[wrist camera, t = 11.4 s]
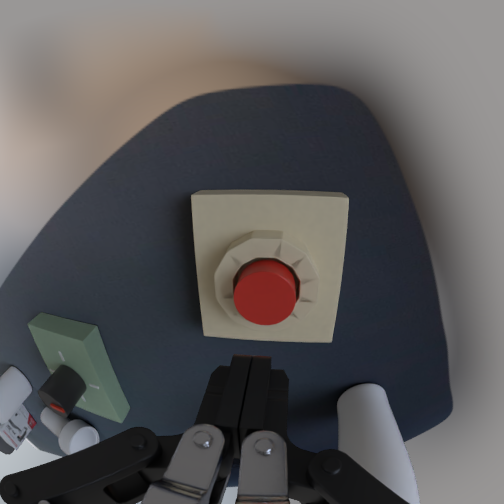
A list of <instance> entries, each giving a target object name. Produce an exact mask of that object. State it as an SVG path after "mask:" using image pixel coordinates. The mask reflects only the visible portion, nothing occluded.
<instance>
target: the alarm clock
mask: <svg viewBox="0 0 504 504" xmlns="http://www.w3.org/2000/svg"><path fill="white" fill-rule="evenodd" d="M0 451H1V452H3V453H5V454H11V453H12V452H13V451H14V448H13V447H12V446H10V445H9V444H7V443H6V442H5V441H4V440H3V438H2V437H1V436H0Z"/></svg>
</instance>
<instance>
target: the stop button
mask: <svg viewBox="0 0 504 504" xmlns="http://www.w3.org/2000/svg"><path fill="white" fill-rule="evenodd" d="M233 298H234V304H235V307H236V309H237V310H238V312H239V313H240V315H241V316H243V317H244V318H245V319H246V320H248V321H250V322H252V323H255V324H258V325H274V324H277V323H280V322H282V321H283V320H285V319H286V318H287V317H288V316H289V315H290V314H291V313H292V311H293V309H294V307H295V303H296V289H295V280H294V277H293V275H292V273H291V272H290V271H289V270H288V269H287V268H286V267H285V266H284V265H282V264H280V263H278V262H276V261H272V260H260V261H256V262H253V263H251V264H250V265H248V266H247V267H246V268H245V269H244V270H243V271H242V273H241V274H240V277H239V279H238V282H237V285H236V287H235V290H234V297H233Z"/></svg>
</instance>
